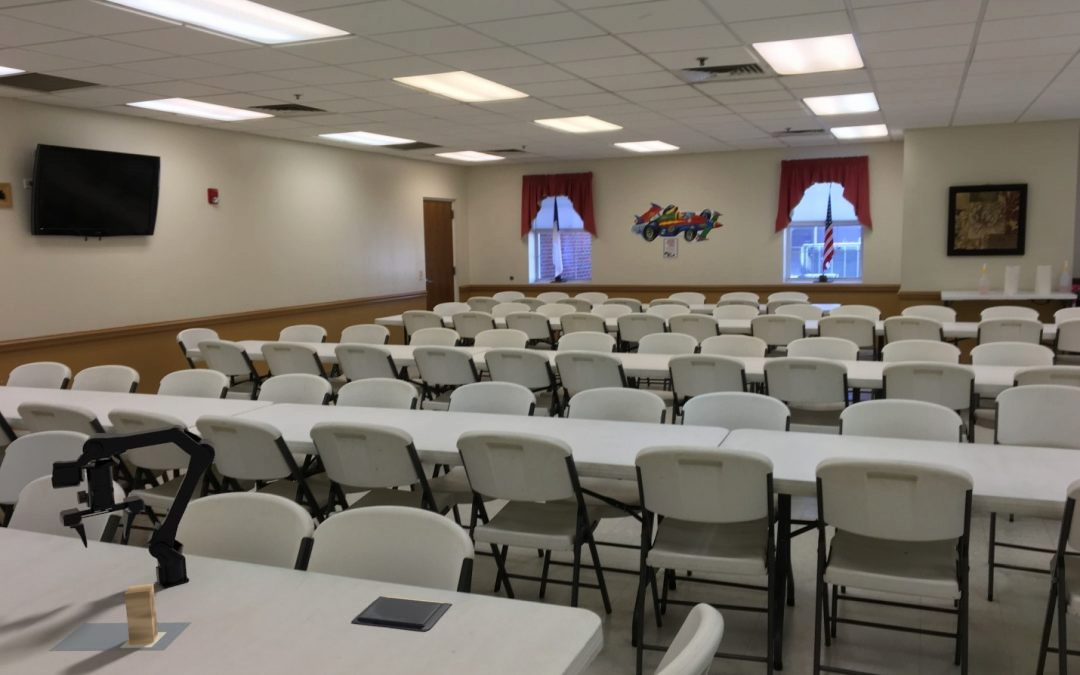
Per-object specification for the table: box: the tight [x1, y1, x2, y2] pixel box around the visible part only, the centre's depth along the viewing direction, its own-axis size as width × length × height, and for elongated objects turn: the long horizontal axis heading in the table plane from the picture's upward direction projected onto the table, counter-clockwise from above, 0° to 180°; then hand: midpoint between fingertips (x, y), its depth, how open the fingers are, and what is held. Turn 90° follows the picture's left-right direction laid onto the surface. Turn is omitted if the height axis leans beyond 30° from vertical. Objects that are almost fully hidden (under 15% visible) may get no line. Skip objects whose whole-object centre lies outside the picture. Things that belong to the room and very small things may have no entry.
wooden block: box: [124, 583, 158, 645], centre depth 186 cm, size 4×5×12 cm
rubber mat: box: [48, 621, 192, 652], centre depth 189 cm, size 26×13×1 cm, turn 87°
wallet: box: [350, 595, 453, 633], centre depth 198 cm, size 20×2×15 cm
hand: (106, 542), depth 214 cm, fingers open, 9 cm apart
